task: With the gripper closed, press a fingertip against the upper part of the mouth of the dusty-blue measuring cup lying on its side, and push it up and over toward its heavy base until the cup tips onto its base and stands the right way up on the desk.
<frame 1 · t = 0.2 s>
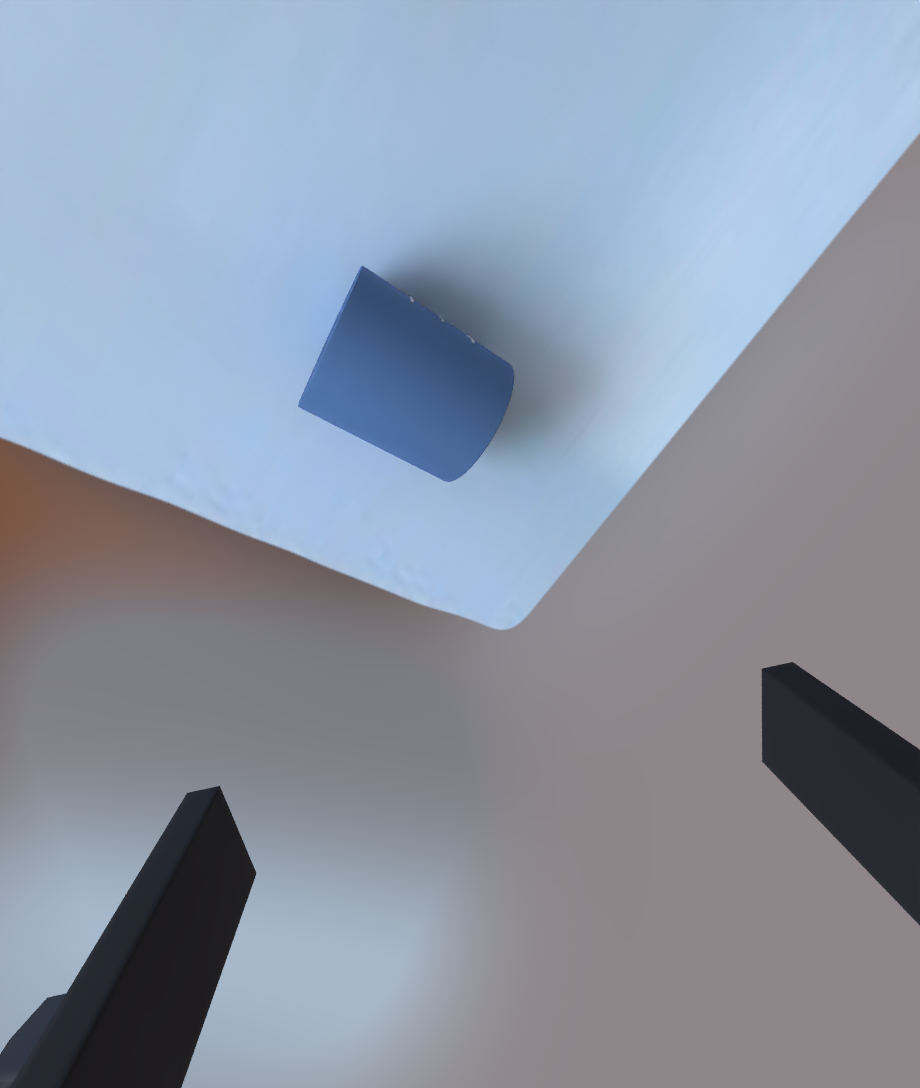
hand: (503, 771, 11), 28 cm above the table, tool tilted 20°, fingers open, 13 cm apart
measuring cup: (328, 338, 27), point 4 cm above the table
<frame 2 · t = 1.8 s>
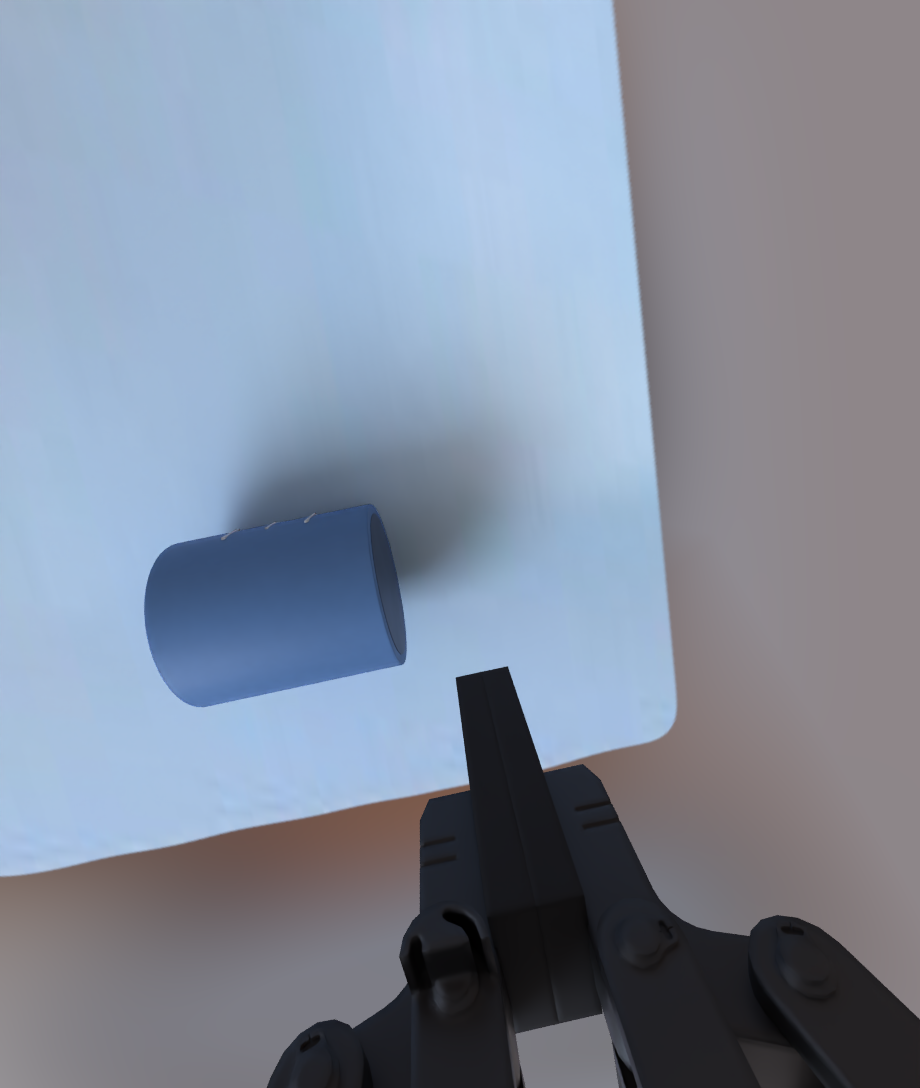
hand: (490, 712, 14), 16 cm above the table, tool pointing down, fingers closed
measuring cup: (198, 623, 25), point 4 cm above the table
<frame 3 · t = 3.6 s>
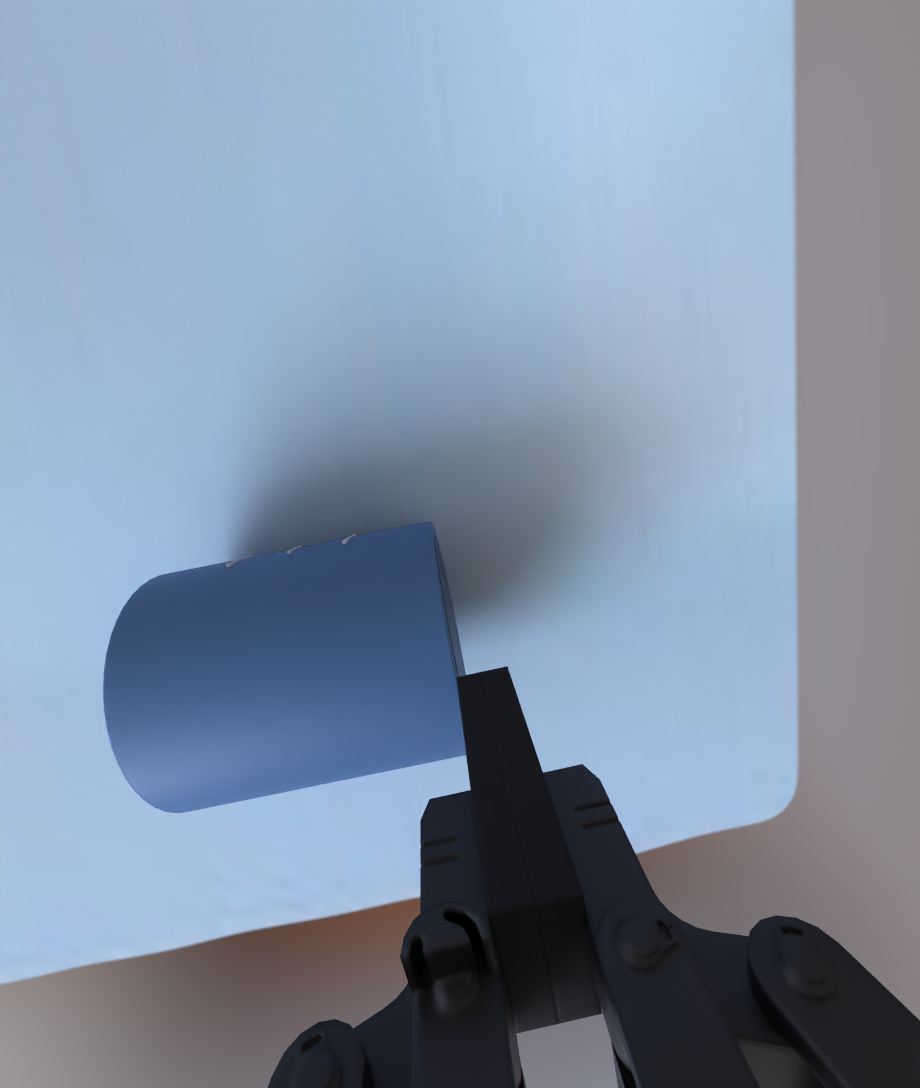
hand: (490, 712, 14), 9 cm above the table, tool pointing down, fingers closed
measuring cup: (188, 685, 18), point 4 cm above the table, tilted 9°, touching gripper
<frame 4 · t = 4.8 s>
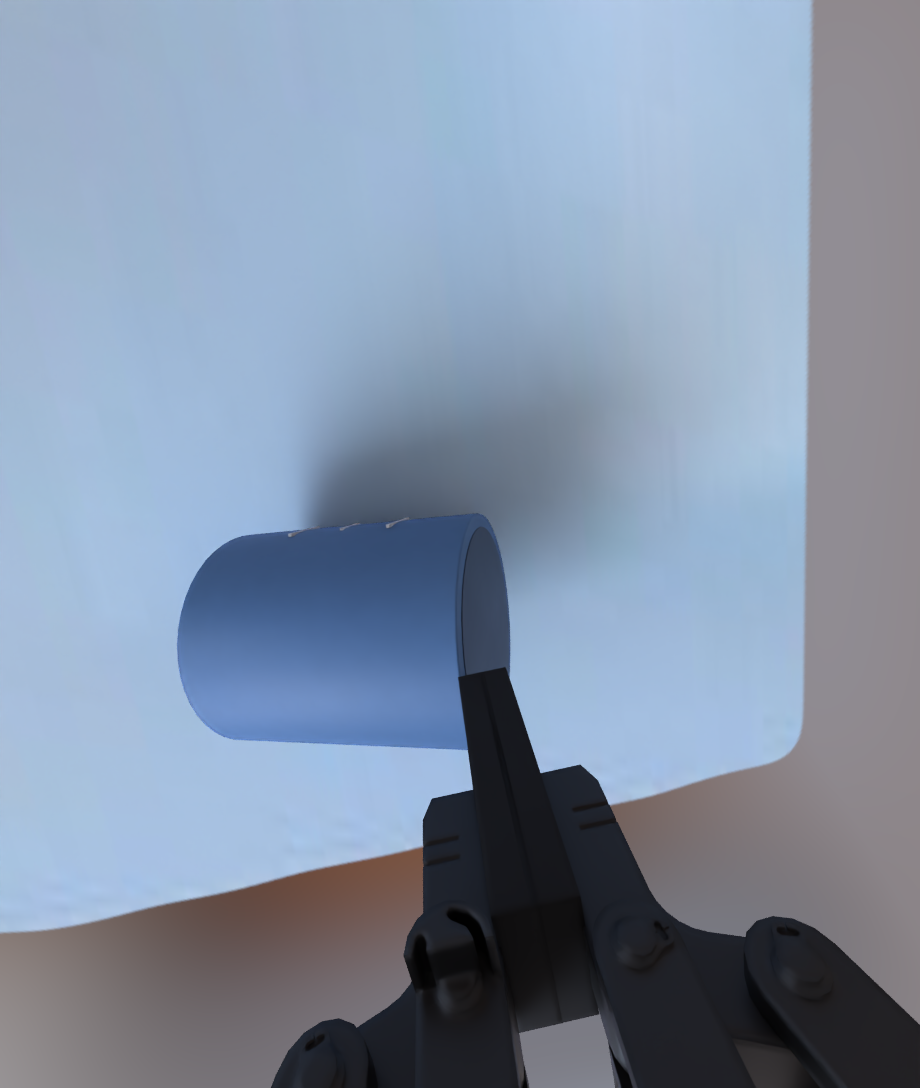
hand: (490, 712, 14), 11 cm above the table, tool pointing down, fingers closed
measuring cup: (259, 633, 20), point 4 cm above the table, tilted 22°, touching gripper
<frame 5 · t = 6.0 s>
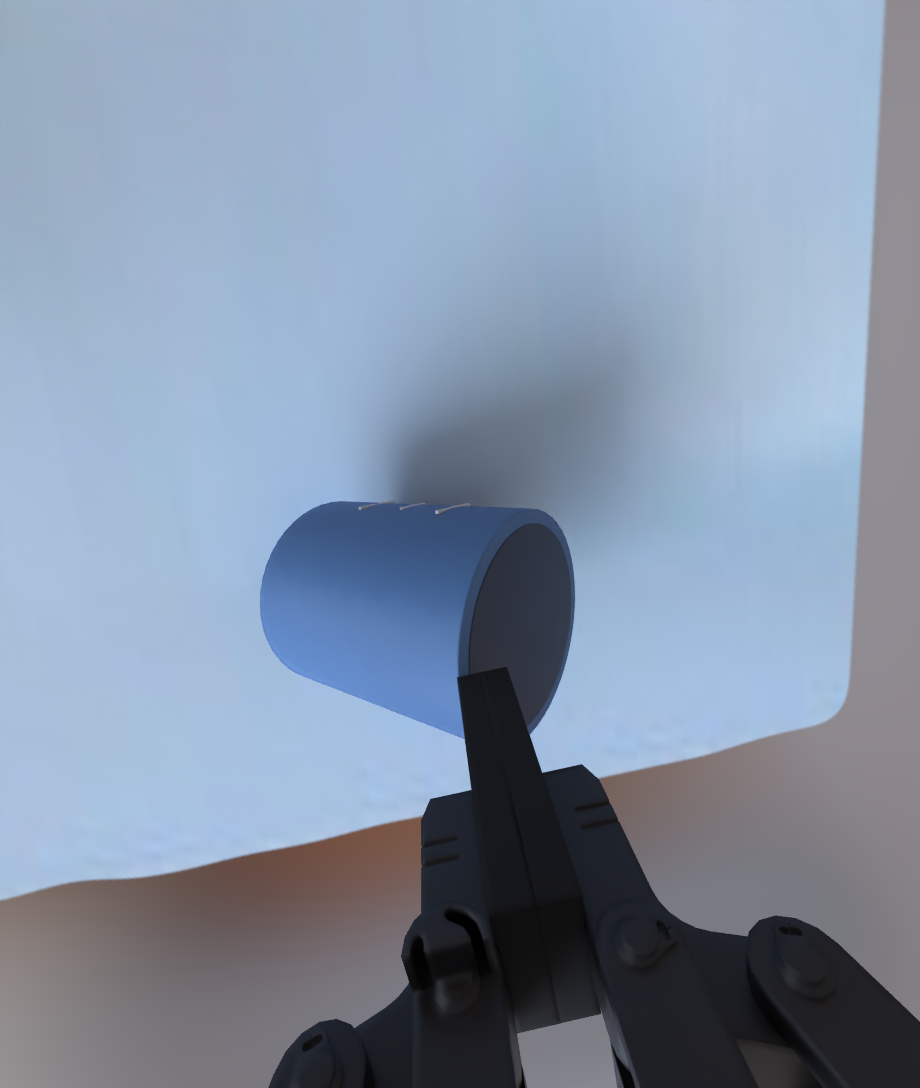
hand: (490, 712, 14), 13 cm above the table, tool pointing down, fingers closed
measuring cup: (341, 589, 23), point 3 cm above the table, tilted 42°, touching gripper
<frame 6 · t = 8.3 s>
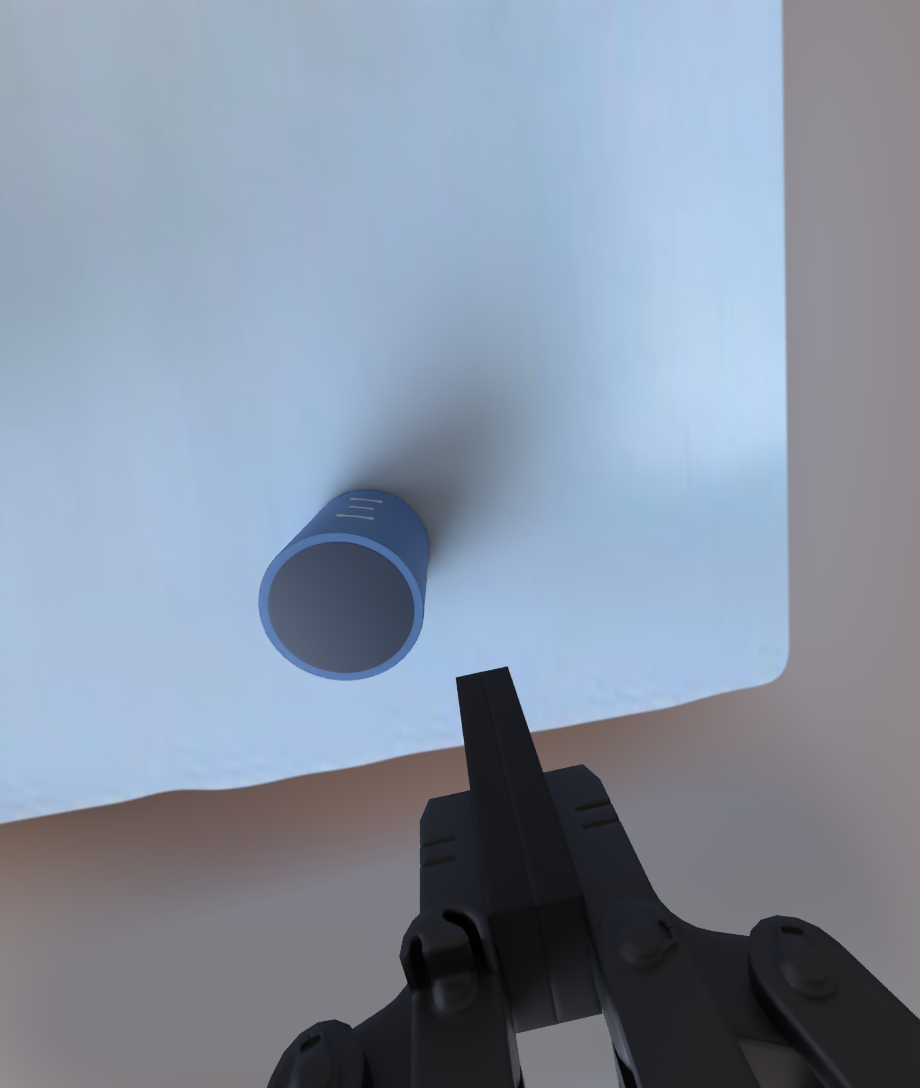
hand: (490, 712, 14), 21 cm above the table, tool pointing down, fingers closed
measuring cup: (369, 547, 34), on the table, tilted 92°
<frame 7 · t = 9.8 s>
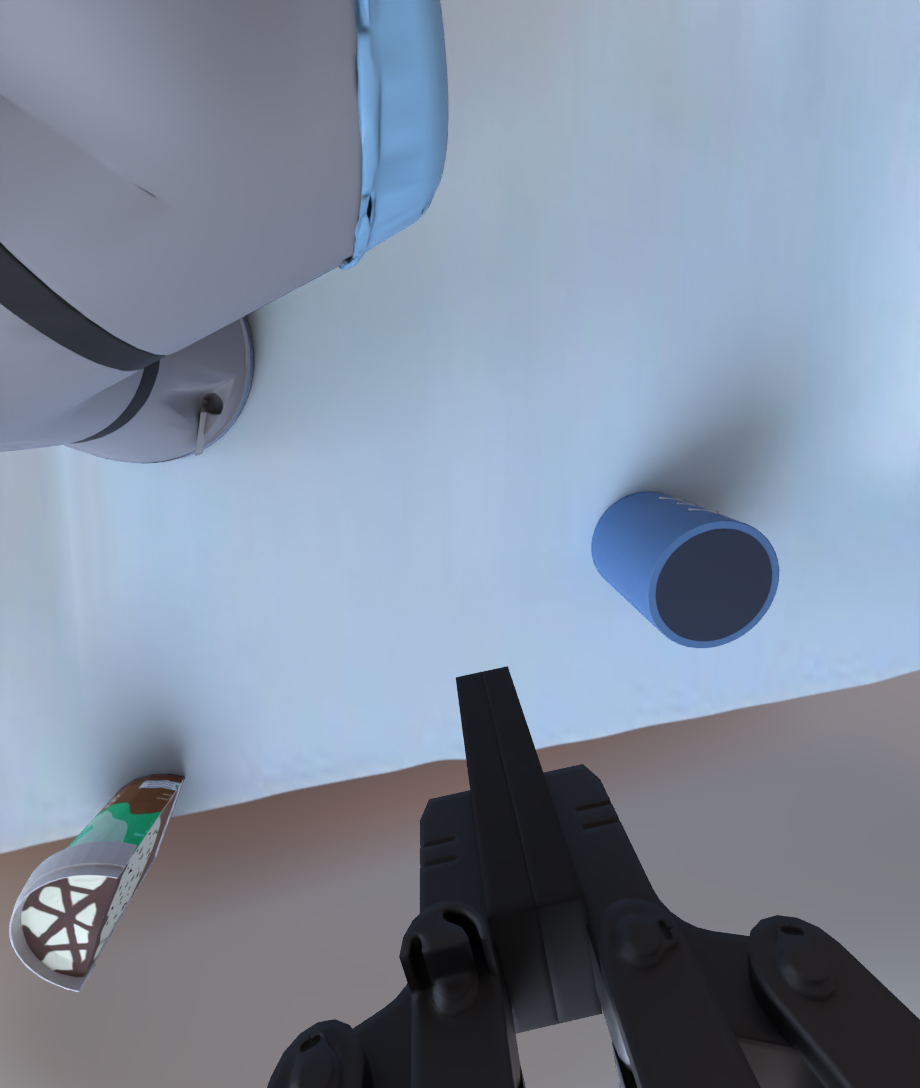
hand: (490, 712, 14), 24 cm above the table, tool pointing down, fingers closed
food container: (135, 806, 42), on the table
measuring cup: (641, 542, 39), on the table, tilted 90°
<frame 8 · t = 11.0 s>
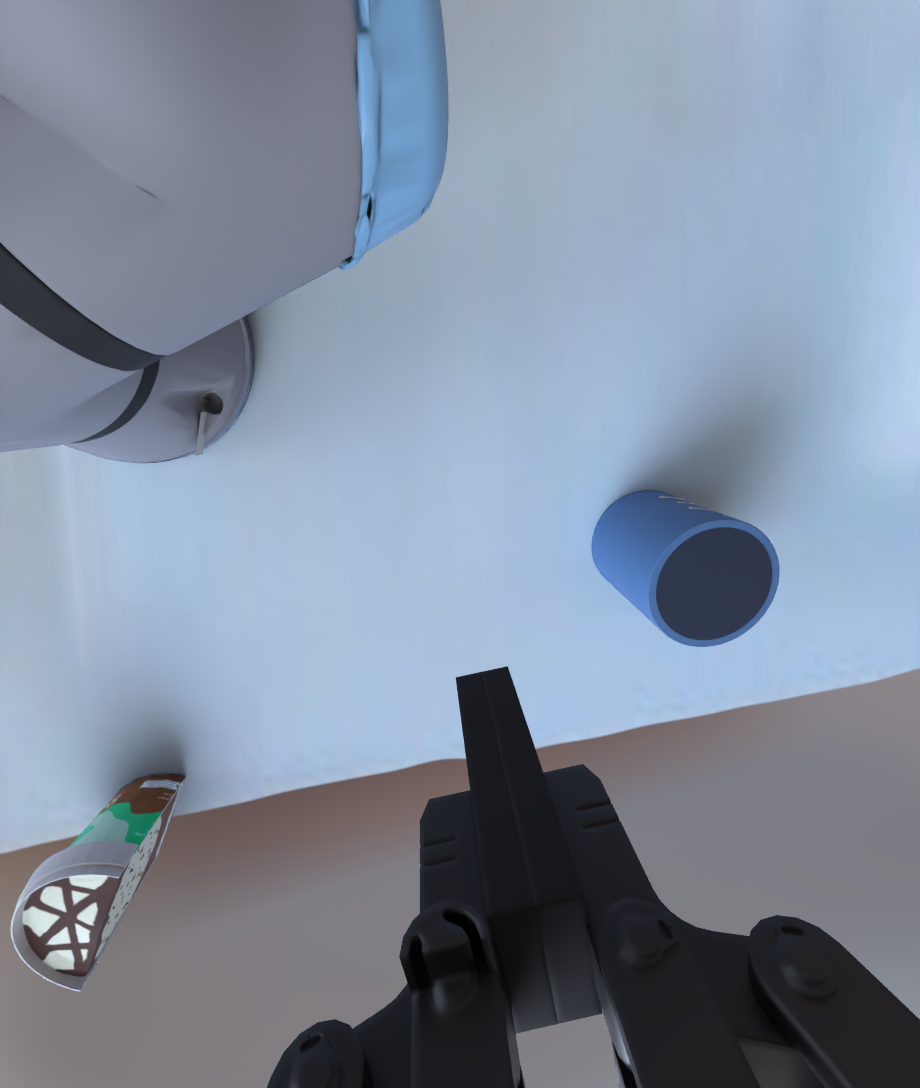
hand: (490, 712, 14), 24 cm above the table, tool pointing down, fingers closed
food container: (136, 806, 42), on the table
measuring cup: (641, 541, 39), on the table, tilted 90°
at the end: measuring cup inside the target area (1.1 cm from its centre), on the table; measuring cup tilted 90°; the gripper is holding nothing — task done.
